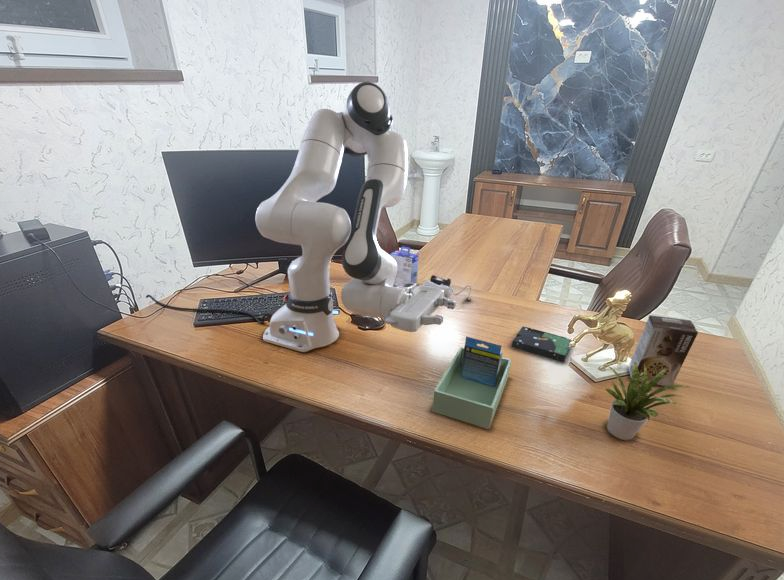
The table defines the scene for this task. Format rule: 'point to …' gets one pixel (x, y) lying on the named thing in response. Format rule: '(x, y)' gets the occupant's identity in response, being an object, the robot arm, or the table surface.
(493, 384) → the tape cartridge
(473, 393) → the bin
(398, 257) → the ink cartridge box
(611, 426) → the house plant
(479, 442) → the table surface
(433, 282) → the clip-on lamp
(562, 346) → the disk drive
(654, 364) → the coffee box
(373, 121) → the robot arm
